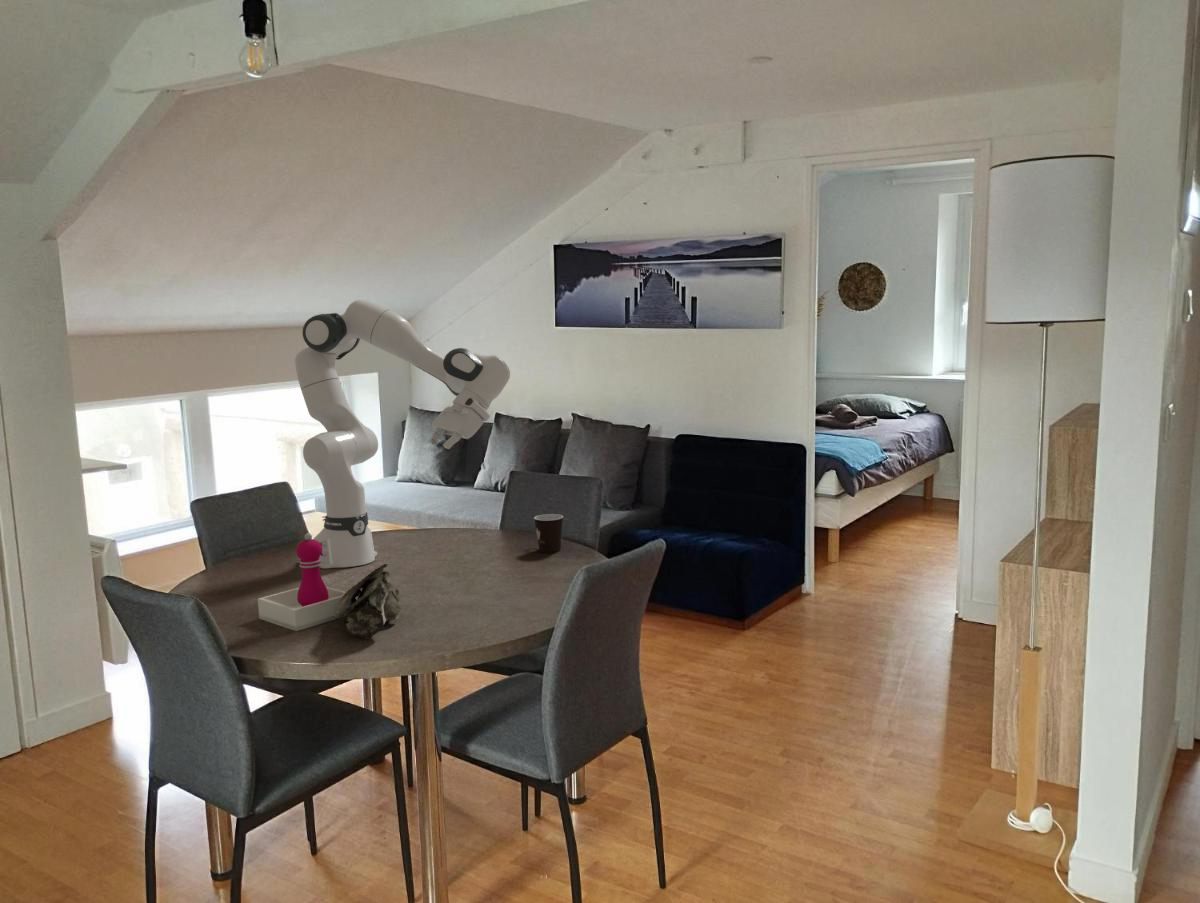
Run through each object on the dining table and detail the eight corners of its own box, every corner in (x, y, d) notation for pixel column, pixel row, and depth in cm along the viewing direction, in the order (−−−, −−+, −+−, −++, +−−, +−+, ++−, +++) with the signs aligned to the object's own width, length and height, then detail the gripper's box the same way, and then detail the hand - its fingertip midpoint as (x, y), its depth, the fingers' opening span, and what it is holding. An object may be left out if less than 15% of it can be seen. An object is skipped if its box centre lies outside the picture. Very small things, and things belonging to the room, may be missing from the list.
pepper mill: (321, 619, 236) (315, 537, 233) (293, 618, 237) (286, 536, 234) (335, 610, 243) (328, 529, 240) (307, 609, 244) (300, 529, 241)
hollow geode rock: (362, 667, 220) (407, 618, 218) (317, 630, 218) (362, 581, 216) (387, 622, 247) (426, 579, 246) (347, 589, 246) (387, 545, 244)
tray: (259, 618, 242) (257, 598, 241) (316, 602, 253) (315, 583, 253) (296, 631, 231) (294, 610, 230) (354, 613, 243) (352, 593, 242)
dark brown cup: (563, 553, 294) (562, 520, 292) (534, 554, 294) (533, 520, 293) (565, 543, 306) (564, 511, 304) (537, 544, 306) (536, 512, 304)
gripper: (445, 397, 284) (415, 434, 281) (477, 402, 267) (445, 442, 264) (460, 411, 287) (431, 448, 284) (493, 417, 270) (462, 456, 267)
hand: (438, 445), depth 273 cm, fingers open, 8 cm apart
